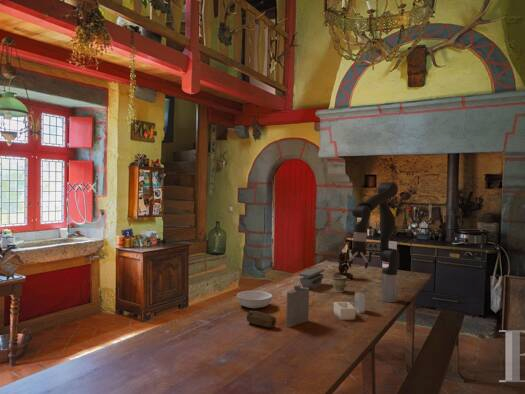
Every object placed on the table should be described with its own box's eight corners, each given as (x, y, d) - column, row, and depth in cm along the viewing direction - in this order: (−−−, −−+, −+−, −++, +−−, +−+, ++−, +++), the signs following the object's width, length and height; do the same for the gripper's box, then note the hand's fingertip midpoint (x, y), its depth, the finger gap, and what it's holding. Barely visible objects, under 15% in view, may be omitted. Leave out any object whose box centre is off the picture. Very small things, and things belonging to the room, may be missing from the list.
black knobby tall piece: (338, 275, 323) (339, 250, 322) (355, 277, 314) (356, 252, 314) (330, 278, 311) (331, 252, 311) (348, 281, 302) (349, 255, 302)
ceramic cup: (329, 292, 270) (330, 277, 270) (333, 288, 279) (333, 274, 279) (349, 294, 265) (349, 279, 265) (351, 291, 274) (352, 276, 274)
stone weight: (244, 325, 203) (245, 312, 203) (251, 321, 209) (251, 308, 209) (271, 330, 196) (271, 317, 196) (277, 326, 202) (277, 313, 202)
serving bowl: (279, 306, 235) (279, 295, 235) (254, 314, 220) (254, 302, 219) (254, 299, 249) (254, 288, 249) (229, 305, 234) (229, 294, 234)
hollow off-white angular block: (347, 312, 227) (348, 301, 227) (355, 319, 215) (355, 308, 215) (333, 312, 226) (333, 302, 226) (340, 319, 214) (340, 308, 214)
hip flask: (289, 327, 200) (290, 288, 199) (283, 325, 203) (284, 286, 202) (309, 320, 211) (310, 283, 211) (303, 318, 214) (304, 282, 213)
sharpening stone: (309, 291, 271) (309, 275, 271) (298, 289, 275) (299, 273, 275) (323, 283, 292) (324, 269, 292) (313, 282, 297) (314, 267, 296)
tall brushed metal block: (360, 309, 234) (360, 292, 234) (364, 313, 227) (365, 295, 227) (354, 309, 233) (354, 292, 233) (358, 313, 226) (359, 295, 226)
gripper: (371, 240, 232) (370, 268, 232) (347, 238, 235) (345, 265, 235) (372, 241, 225) (371, 270, 225) (347, 239, 228) (345, 268, 228)
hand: (357, 268), depth 230 cm, fingers open, 8 cm apart
